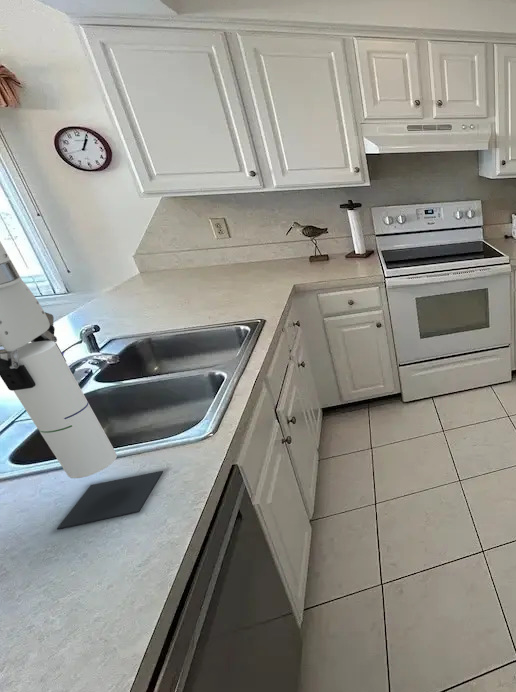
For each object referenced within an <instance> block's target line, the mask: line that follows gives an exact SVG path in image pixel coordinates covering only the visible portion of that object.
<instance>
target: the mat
mask: <svg viewBox="0 0 516 692" xmlns="http://www.w3.org/2000/svg"><path fill="white" fill-rule="evenodd" d="M163 473H164V470H159V471H155V472H148V473H144V474H139V475H134V476H129V477H124V478H123V477H122V478H119V479H113V480H108V481H104V482H98V483H93V484H90V485H89V486H88V488H87V489H86V490H85V491H84V493H83V494H82V495H81V497H80V498H79V499H78V501H77V502H76V503H75V504H74V506H73V507H72V508H71V510H70V511H69V512H68V513H67V514H66V515H65V518H63V520H62V521H61V523H60V524H59V525H58V526H57V528H56V529H57V530H62V529H66V528H72V527H76V526H81V525H86V524H90V523H94V522H99V521H104V520H107V519H108V520H109V519H113V518H119V517H122V516H126V515H131V514H137V513H139V512H140V511H141V510H142V508H143V506H144V505H145V503H146V502H147V500H148V498H149V497H150V495H151V493H152V491H153V489H154V488H155V486H156V484H157V483H158V481H159V480H160V478H161V476H162V474H163Z"/></svg>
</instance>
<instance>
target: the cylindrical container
mask: <svg viewBox="0 0 516 692" xmlns="http://www.w3.org/2000/svg"><path fill="white" fill-rule="evenodd" d="M56 343H57V342H54V341H38V342H29V343H27V344H26V345H24V346H22V347H21V348H19V349H17V350H18V359H19V366H20V365H24V366H25V367H26V369H27V371H28V372H29V374H30V375H31V377H32V379H33V380H34V382H35V384H36V385H35V386H34V387H33V388H28V389H21V390H14V391H13V393H14V394H15V395H16V397H17V398H18V400H19V402H20V403H21V405H22V407H23V408H24V409H25V411H26V412H27V414H28V416H29V417H30V419H31V421H32V422H33V424H34V425H35V427H36V428H37V430H38V431H39V433H40V436H42V438H43V439H44V441H45V443H46V444H47V445H48V448H49V449H50V450H51V452H52V453H53V455H54V457H55V458H56V460H57V461H58V463H59V464H60V466H61V468H62V469H63V471H64V472H65V474H66V475H67V477H68V478H69V479H83V478H87V477H90V476H93V475H95V474H98V473H99V472H102V471H103V470H105V469H107V468H108V467H110V466H111V465H112V464H113V463H114V462H116V460H117V457H118V454H117V452H116V450H115V448H114V446H113V445H112V443H111V441H110V439H109V436H107V434H106V432H105V430H104V429H103V426H102V425H101V423H100V421H99V420H98V419H99V418H98V417H97V415H96V413H95V412H94V410H93V409H92V407H91V405H90V403H89V401H88V400H87V398H86V396H85V394H84V392H83V390H82V388H81V387H80V385H79V383H78V381H77V379H76V377H75V375H74V374H73V372H72V370H71V368H70V367H69V365H68V362H67V360H66V358H65V357H64V358H65V359H64V358H63V356H64V355H63V356H62V354H63V353H62V354H61V352H62V351H61V349H60V348H59V349H60V350H59V349H58V347H59V346H58V347H57V345H58V344H57V345H56ZM60 351H61V352H60ZM0 356H1V359H5V360H8V358H7V354H0ZM65 360H66V361H65Z"/></svg>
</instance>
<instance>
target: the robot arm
mask: <svg viewBox="0 0 516 692" xmlns="http://www.w3.org/2000/svg"><path fill="white" fill-rule="evenodd" d="M54 318H55V317H54V315H53V314H51V313H49V312H46V311H45V310H44V309H43V307H42V305H41V304H40V302H39V301H38V299H37V298H36V296H35V294H34V293H33V292H32V290H31V289H30V287H28V285H27V284H26V283H25V282H24V280H22V277H21V276H20V274H19V272H18V270H17V269H16V267H15V265H14V263H13V262H12V259H11V258H10V256H9V254H8V253H7V251H6V249H5V247H4V246H3V244H2V242H1V241H0V347H3V349H0V354H7V358H8V360H5V359H1V356H0V378H1V380H2V381H3V383H4V385H5V386H6V388H7V389H8V390H9V391H12V392H14V390H21V389H28V388H33V387H34V386H35V385H36V384H35V382H34V380H33V379H32V377H31V375H30V374H29V372H28V371H27V369H26V367H25V366H24V365H20V366H19V359H18V350H17V349H19V348H21V347H22V346H24V345H26V344H27V343H32V342H38V341H54V342H55V343H56V345H57V347H58V349H59V350H60V352H61V354H62V356H63V358H64V359H65V361H66V362H67V360H66V358H65V357H64V354H63V352H62V350H61V349H60V347H59V345H58V343H57V342H58V338H57V336H56V335H55V332H56V331H55V330H56V328H55V326H54V322H55V321H54Z"/></svg>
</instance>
